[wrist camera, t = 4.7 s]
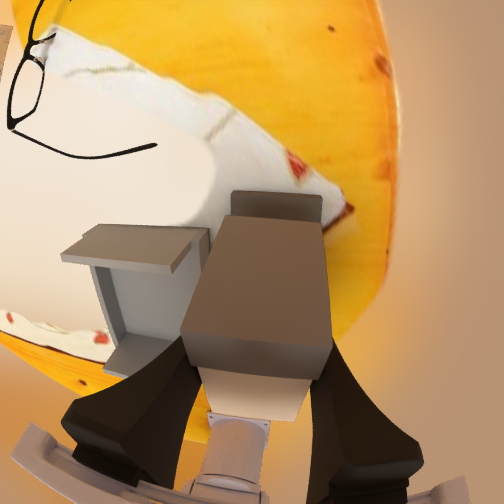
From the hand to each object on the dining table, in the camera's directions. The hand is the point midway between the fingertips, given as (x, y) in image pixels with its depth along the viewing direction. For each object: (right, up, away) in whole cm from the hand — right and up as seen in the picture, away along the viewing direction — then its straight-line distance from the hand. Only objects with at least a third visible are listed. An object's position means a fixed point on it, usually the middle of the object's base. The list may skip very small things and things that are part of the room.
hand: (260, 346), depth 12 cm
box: (+1, +3, +4) cm, 5 cm away
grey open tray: (-9, +1, +12) cm, 15 cm away
